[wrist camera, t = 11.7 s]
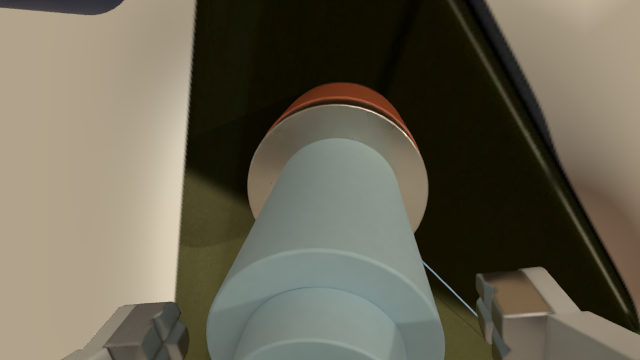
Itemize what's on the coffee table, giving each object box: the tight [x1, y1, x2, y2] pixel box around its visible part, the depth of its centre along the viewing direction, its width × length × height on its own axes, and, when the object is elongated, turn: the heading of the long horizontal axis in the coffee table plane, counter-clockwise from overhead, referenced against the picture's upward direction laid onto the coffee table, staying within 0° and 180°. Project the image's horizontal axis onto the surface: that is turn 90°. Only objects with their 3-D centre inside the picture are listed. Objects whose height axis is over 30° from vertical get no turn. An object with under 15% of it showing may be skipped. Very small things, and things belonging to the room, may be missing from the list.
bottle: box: [206, 138, 445, 360], centre depth 11 cm, size 6×6×12 cm
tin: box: [247, 81, 428, 234], centre depth 21 cm, size 9×9×9 cm
